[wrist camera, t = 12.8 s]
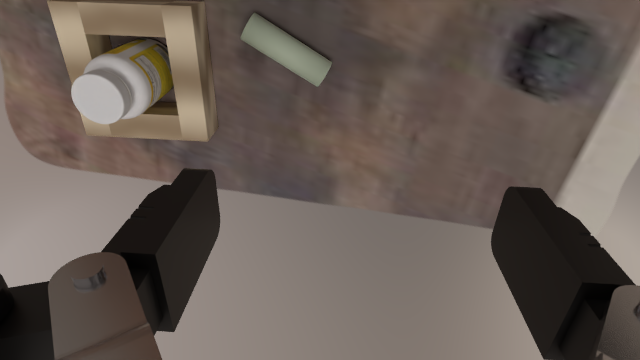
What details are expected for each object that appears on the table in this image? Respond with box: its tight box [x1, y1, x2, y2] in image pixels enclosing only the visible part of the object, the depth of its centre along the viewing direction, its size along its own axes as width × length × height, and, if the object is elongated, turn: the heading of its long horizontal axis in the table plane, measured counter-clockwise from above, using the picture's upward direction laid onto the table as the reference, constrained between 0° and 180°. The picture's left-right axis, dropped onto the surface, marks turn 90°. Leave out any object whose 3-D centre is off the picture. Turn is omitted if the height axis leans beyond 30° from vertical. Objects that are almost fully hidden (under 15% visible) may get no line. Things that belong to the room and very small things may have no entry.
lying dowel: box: [241, 13, 332, 87], centre depth 35 cm, size 8×3×3 cm
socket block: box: [47, 0, 218, 141], centre depth 36 cm, size 12×12×4 cm
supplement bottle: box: [71, 38, 174, 124], centre depth 34 cm, size 5×5×10 cm
